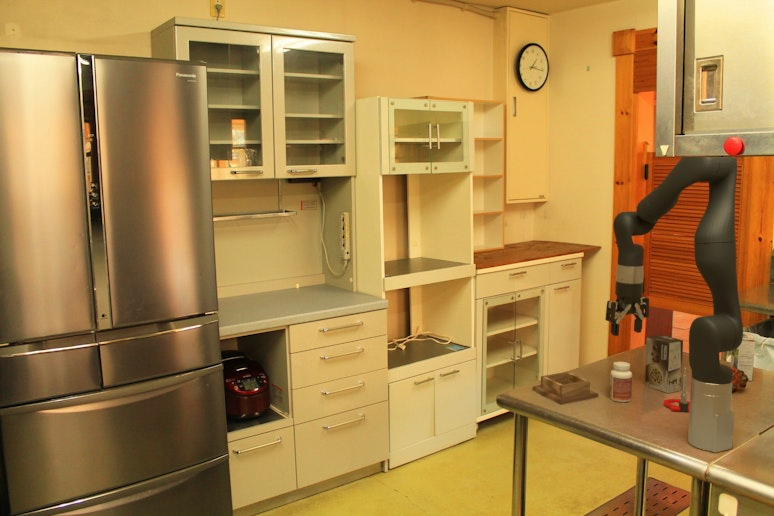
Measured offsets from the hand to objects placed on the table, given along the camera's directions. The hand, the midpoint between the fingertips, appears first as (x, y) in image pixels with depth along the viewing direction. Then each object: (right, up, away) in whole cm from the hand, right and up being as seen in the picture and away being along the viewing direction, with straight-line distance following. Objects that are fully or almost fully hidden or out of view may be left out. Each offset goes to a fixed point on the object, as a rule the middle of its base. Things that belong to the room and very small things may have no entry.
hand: (626, 333), depth 193 cm
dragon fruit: (+35, -19, +11) cm, 42 cm away
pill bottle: (0, -21, +5) cm, 21 cm away
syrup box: (+46, -17, +22) cm, 54 cm away
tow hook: (+15, -21, -2) cm, 26 cm away
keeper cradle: (-15, -20, +10) cm, 27 cm away
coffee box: (+17, -19, +14) cm, 29 cm away
